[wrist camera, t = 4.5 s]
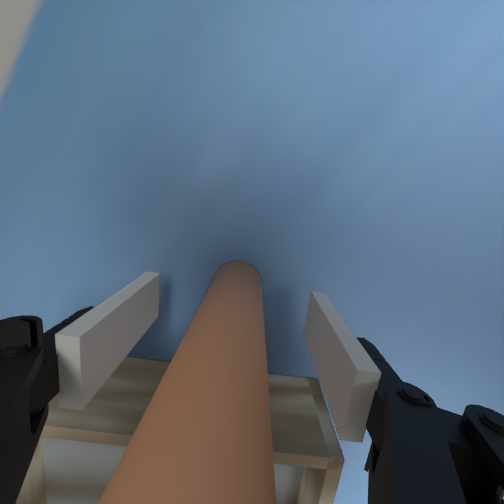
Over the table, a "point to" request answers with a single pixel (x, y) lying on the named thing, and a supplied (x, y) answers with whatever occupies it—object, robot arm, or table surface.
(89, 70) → the table surface
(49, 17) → the table surface
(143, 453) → the peg
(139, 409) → the box
